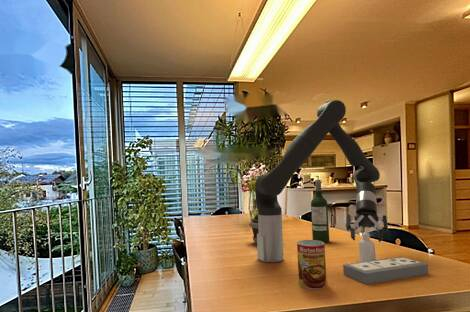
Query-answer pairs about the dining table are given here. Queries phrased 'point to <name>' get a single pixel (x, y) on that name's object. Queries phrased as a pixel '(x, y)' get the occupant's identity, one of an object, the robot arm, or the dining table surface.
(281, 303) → the dining table surface
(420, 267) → the tile board
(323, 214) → the wine bottle
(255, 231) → the flowerpot
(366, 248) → the eye dropper bottle
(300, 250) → the canned food
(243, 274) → the dining table surface
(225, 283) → the dining table surface
